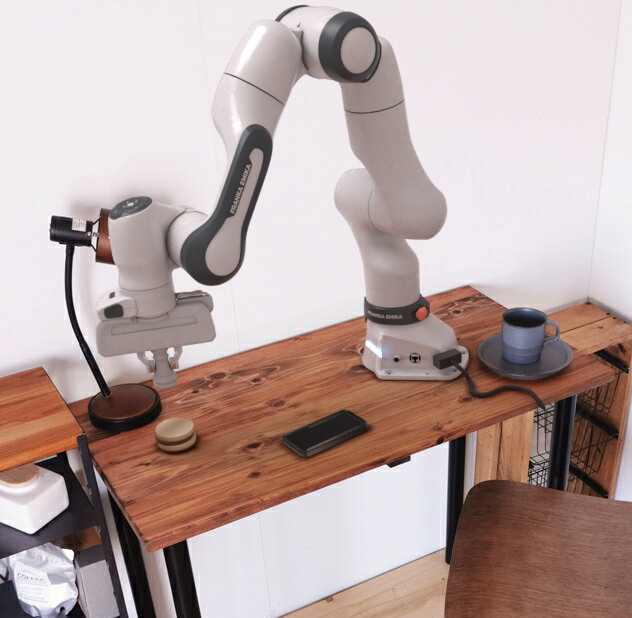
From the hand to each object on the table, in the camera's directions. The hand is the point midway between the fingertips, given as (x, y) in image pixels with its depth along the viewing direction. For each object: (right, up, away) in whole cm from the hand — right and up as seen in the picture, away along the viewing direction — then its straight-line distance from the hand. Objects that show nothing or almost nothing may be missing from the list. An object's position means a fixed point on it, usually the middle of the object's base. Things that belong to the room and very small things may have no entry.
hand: (163, 369), depth 160 cm
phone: (+28, -12, +8) cm, 32 cm away
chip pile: (+1, -13, +9) cm, 15 cm away
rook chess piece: (0, -3, +2) cm, 3 cm away
